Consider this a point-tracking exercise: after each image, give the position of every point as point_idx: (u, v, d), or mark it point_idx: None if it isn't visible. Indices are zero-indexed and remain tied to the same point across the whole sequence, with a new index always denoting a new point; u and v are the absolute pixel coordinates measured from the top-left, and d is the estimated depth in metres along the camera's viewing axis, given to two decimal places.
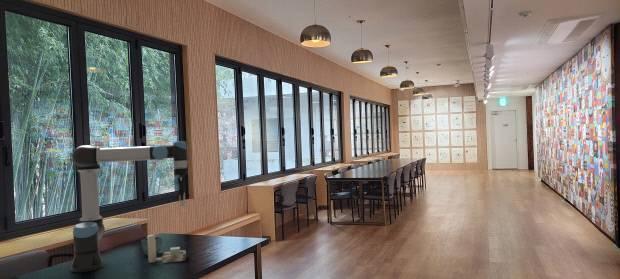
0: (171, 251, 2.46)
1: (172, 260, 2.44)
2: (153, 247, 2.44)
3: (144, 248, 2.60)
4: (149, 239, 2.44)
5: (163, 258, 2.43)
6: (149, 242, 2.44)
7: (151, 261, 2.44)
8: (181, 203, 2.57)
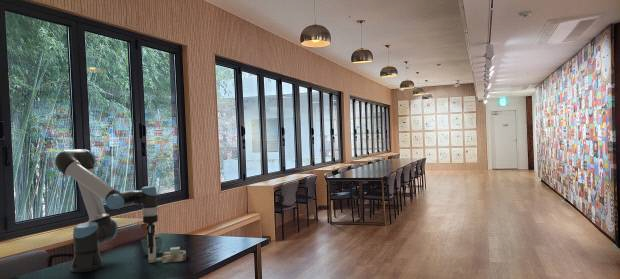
0: (171, 251, 2.46)
1: (172, 260, 2.44)
2: None
3: (144, 248, 2.60)
4: None
5: (163, 258, 2.43)
6: None
7: (151, 261, 2.44)
8: (150, 256, 2.43)
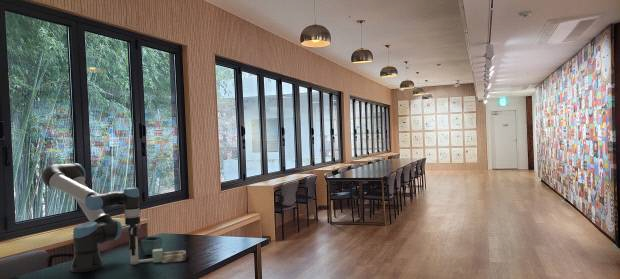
0: (153, 253, 2.44)
1: (172, 260, 2.44)
2: None
3: (144, 248, 2.60)
4: None
5: (163, 258, 2.43)
6: None
7: (133, 263, 2.41)
8: (132, 258, 2.41)
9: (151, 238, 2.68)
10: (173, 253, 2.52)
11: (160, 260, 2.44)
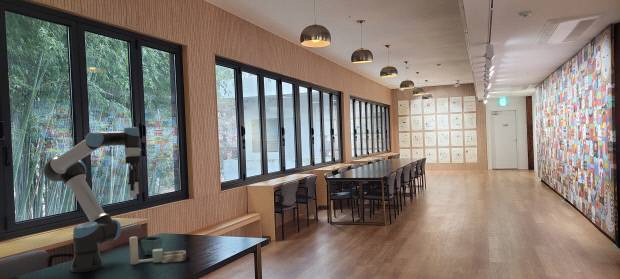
0: (153, 253, 2.44)
1: (172, 260, 2.44)
2: (135, 249, 2.42)
3: (144, 248, 2.60)
4: (131, 241, 2.41)
5: (163, 258, 2.43)
6: (131, 244, 2.41)
7: (133, 263, 2.41)
8: (131, 194, 2.37)
9: (151, 238, 2.68)
10: (173, 253, 2.52)
11: (160, 260, 2.44)
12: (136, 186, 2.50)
